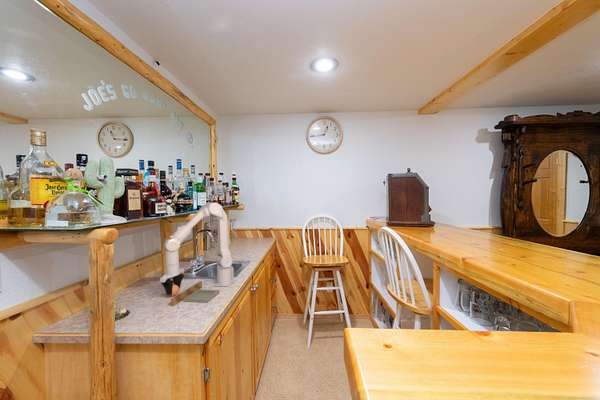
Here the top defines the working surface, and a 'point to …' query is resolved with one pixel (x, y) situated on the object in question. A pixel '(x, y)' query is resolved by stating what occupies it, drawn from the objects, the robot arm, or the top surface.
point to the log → (120, 313)
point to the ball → (175, 290)
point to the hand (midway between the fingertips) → (173, 292)
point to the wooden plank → (185, 293)
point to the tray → (202, 296)
